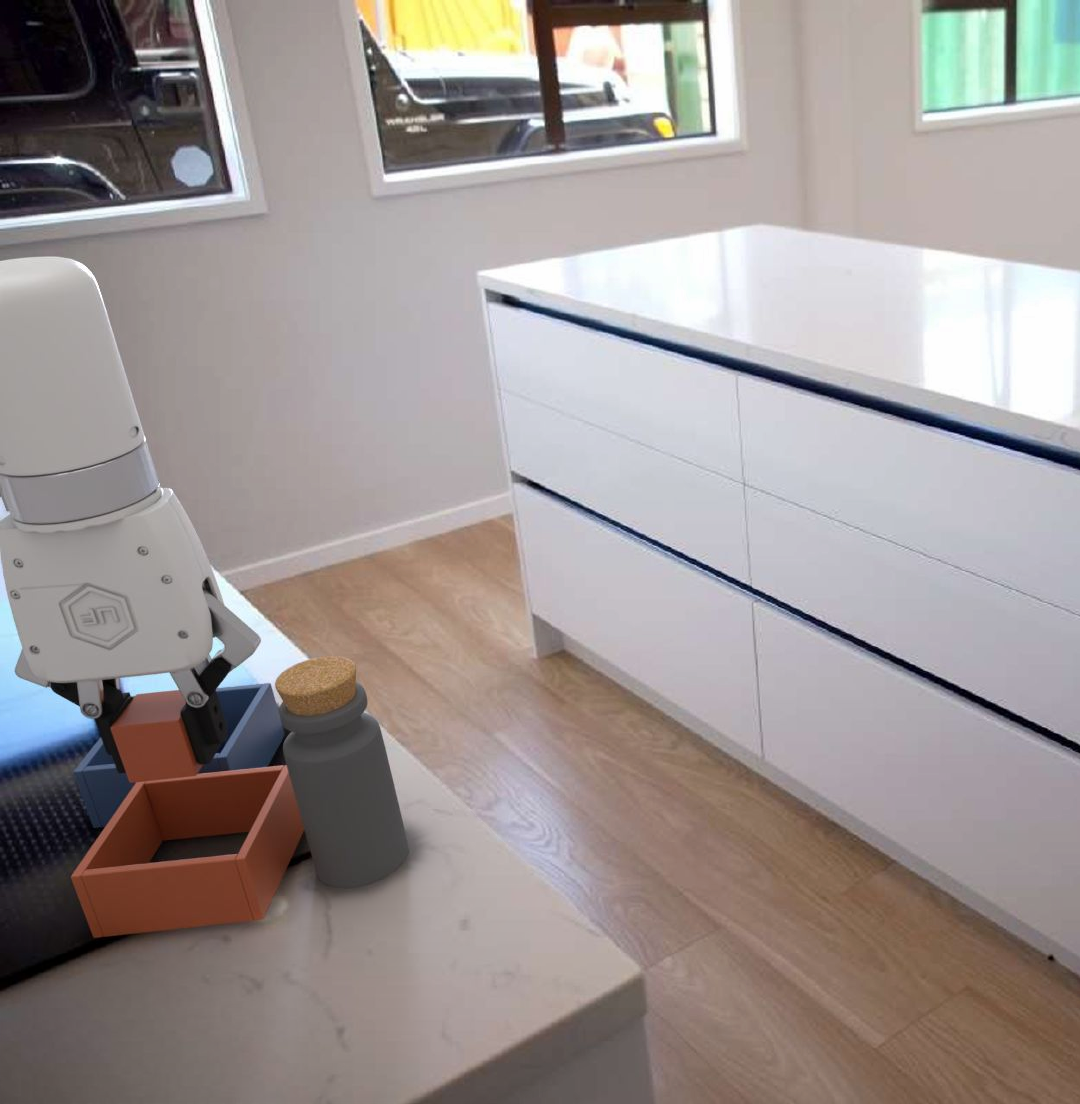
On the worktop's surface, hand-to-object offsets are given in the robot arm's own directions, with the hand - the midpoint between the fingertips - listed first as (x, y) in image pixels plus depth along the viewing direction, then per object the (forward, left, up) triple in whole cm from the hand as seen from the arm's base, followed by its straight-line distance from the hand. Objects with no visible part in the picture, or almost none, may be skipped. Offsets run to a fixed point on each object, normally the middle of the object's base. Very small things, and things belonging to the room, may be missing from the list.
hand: (172, 753), depth 78 cm
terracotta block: (0, 0, -1) cm, 1 cm away
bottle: (+10, 0, -10) cm, 14 cm away
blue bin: (-5, +12, -10) cm, 17 cm away
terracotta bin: (0, 0, -10) cm, 10 cm away
